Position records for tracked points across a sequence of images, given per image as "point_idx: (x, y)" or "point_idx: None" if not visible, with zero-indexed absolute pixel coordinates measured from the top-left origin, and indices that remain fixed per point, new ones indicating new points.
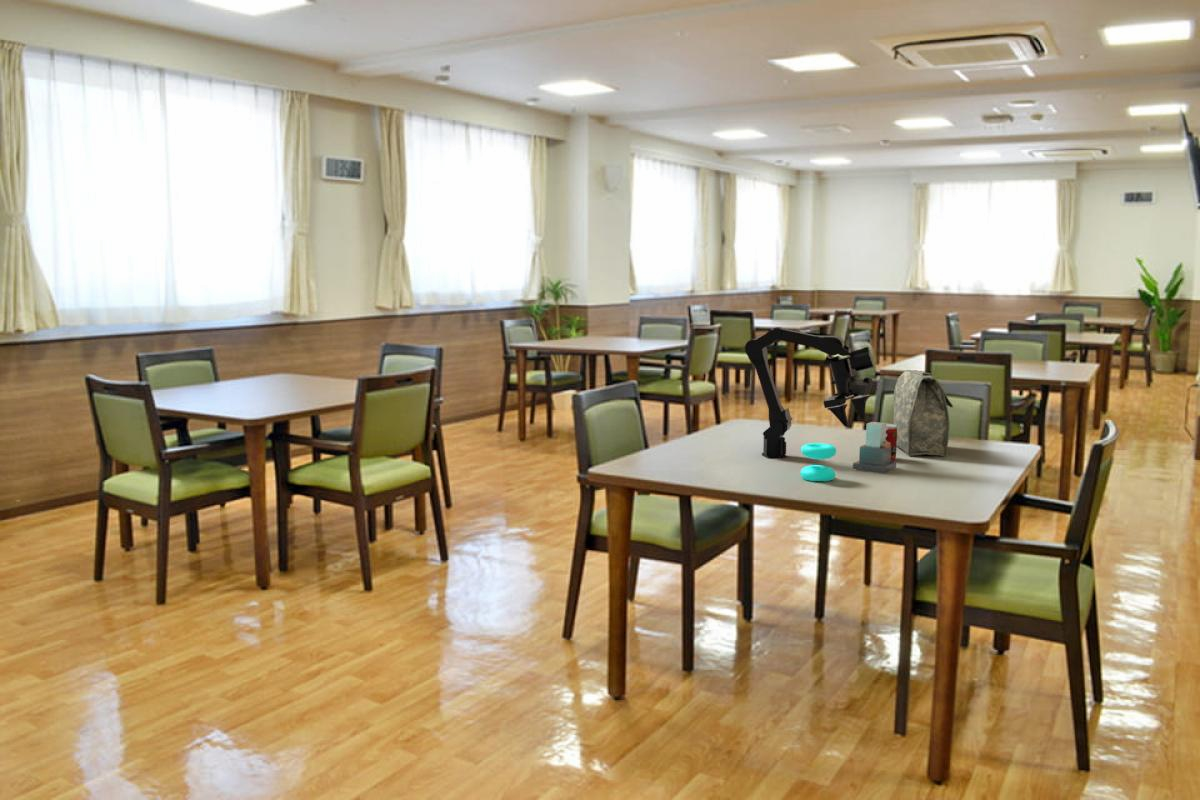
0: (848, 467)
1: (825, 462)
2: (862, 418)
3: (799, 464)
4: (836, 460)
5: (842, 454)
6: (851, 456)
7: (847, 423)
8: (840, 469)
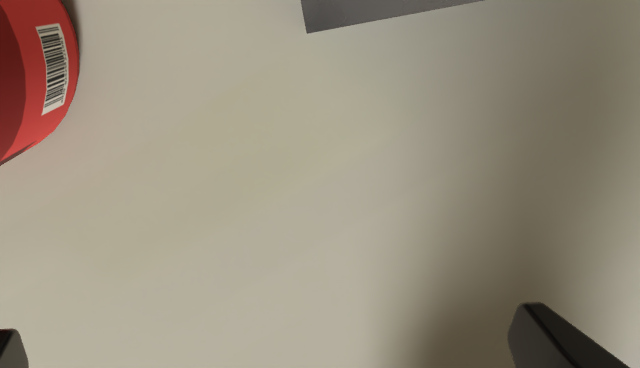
0: (519, 53)
1: (458, 273)
2: (15, 361)
3: (636, 346)
4: (336, 260)
5: (108, 347)
6: (117, 268)
7: (549, 325)
8: (634, 54)
